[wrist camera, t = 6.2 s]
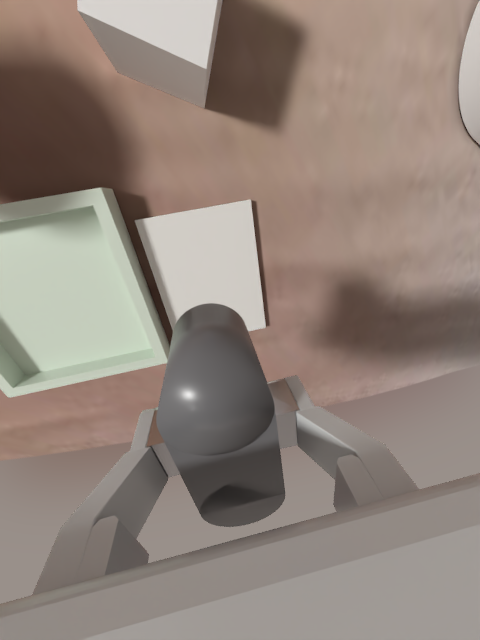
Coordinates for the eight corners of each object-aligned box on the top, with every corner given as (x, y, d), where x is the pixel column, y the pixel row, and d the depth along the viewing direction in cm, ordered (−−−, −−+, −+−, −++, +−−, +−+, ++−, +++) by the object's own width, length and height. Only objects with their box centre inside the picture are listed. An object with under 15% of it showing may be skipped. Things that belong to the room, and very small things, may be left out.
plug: (162, 312, 9) (137, 389, 5) (241, 296, 9) (269, 359, 5) (214, 457, 13) (219, 552, 10) (265, 444, 13) (289, 533, 10)
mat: (249, 199, 21) (250, 199, 20) (264, 325, 27) (265, 327, 26) (136, 220, 20) (134, 220, 19) (178, 343, 26) (178, 346, 26)
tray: (112, 188, 19) (100, 187, 16) (171, 349, 26) (168, 362, 24) (-100, 225, 18) (-142, 228, 15) (25, 380, 25) (8, 397, 23)
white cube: (223, -6, 15) (237, -119, 10) (204, 109, 17) (207, 69, 12) (123, -62, 13) (74, -232, 8) (117, 73, 16) (76, 10, 11)
